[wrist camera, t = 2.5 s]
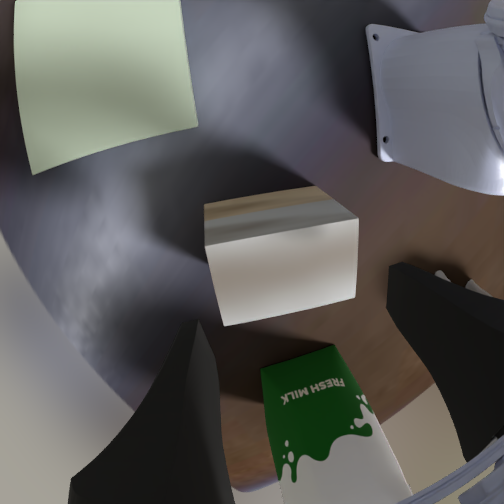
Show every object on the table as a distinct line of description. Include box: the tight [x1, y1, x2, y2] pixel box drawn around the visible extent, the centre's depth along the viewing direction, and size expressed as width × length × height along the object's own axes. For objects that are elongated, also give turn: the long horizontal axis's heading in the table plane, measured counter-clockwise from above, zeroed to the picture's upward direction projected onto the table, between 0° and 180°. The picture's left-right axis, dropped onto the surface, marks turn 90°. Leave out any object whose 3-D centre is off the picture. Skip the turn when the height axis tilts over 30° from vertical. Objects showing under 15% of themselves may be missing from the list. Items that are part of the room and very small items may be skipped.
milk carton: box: [260, 345, 413, 504], centre depth 18 cm, size 9×9×20 cm
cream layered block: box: [204, 186, 359, 326], centre depth 16 cm, size 4×7×6 cm, turn 98°
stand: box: [14, 0, 199, 175], centre depth 11 cm, size 12×10×2 cm
